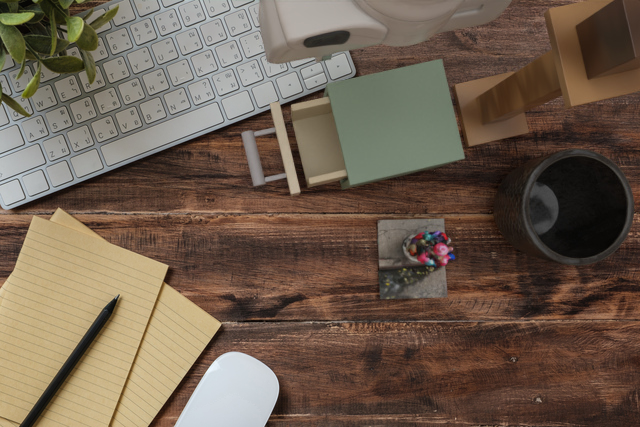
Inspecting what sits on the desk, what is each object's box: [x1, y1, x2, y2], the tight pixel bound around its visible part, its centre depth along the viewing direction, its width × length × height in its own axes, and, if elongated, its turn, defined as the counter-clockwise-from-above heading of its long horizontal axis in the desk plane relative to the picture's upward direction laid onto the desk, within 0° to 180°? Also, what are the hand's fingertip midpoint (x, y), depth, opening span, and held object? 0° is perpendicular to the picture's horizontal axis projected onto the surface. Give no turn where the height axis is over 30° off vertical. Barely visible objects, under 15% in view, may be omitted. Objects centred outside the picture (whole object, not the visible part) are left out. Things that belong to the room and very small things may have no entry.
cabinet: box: [322, 58, 466, 191], centre depth 63 cm, size 15×13×10 cm
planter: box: [492, 148, 635, 267], centre depth 63 cm, size 14×14×13 cm
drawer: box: [240, 96, 348, 198], centre depth 62 cm, size 18×11×8 cm, turn 103°
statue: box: [376, 218, 456, 300], centre depth 61 cm, size 11×9×15 cm
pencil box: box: [576, 0, 640, 80], centre depth 40 cm, size 5×5×6 cm
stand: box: [451, 0, 640, 148], centre depth 56 cm, size 9×9×26 cm
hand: (369, 43), depth 46 cm, fingers open, 8 cm apart
